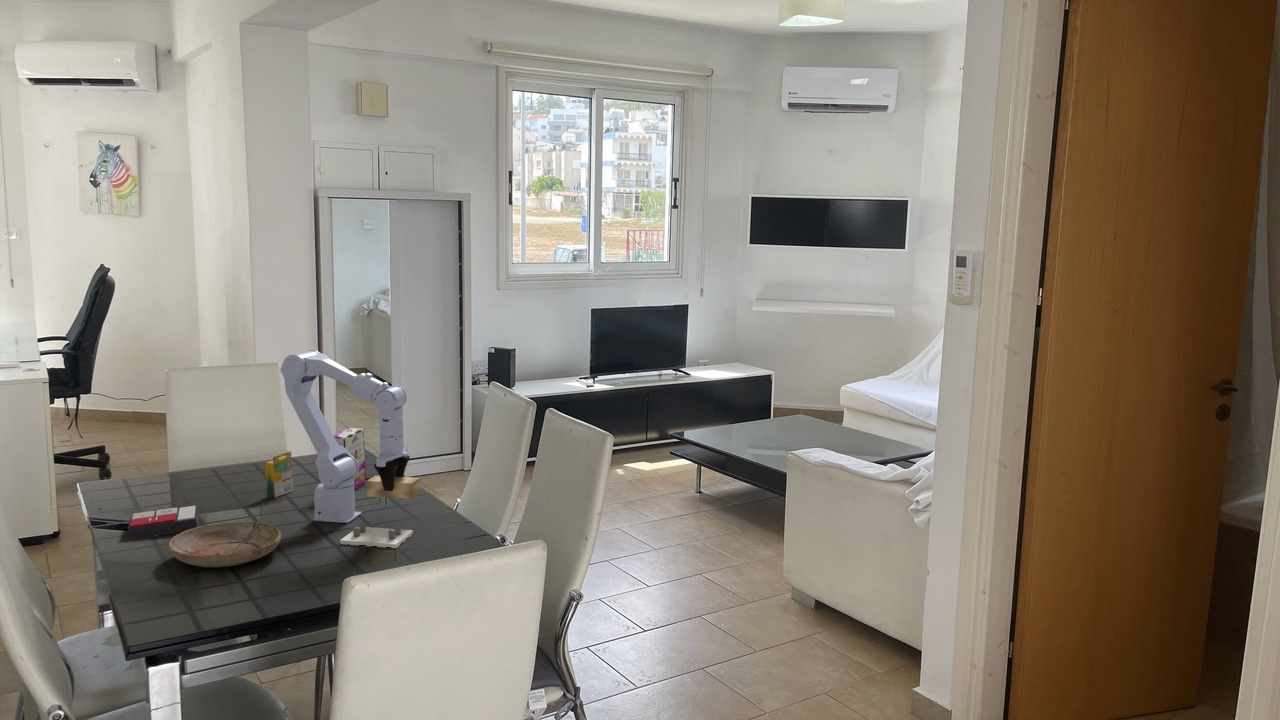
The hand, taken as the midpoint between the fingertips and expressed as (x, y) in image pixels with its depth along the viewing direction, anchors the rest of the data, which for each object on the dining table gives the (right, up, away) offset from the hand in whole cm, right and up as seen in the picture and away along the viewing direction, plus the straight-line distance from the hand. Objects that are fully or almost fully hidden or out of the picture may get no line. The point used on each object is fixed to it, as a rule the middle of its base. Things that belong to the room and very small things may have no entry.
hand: (393, 487), depth 238 cm
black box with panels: (-55, -10, -5) cm, 56 cm away
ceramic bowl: (-32, -13, -23) cm, 41 cm away
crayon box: (-38, -5, +25) cm, 46 cm away
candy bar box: (-21, -5, +31) cm, 38 cm away
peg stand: (-1, -11, -10) cm, 15 cm away
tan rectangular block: (0, -2, 0) cm, 2 cm away
